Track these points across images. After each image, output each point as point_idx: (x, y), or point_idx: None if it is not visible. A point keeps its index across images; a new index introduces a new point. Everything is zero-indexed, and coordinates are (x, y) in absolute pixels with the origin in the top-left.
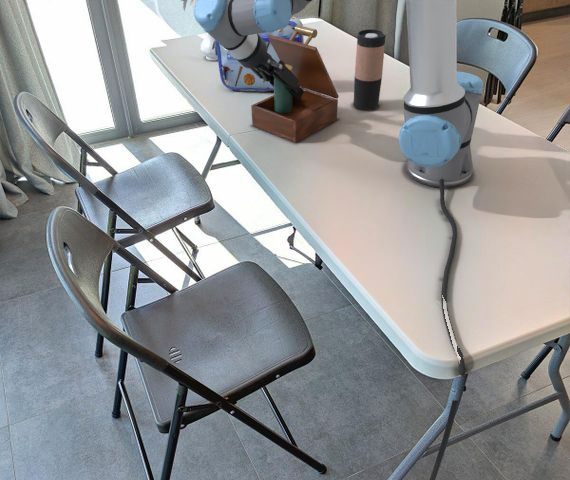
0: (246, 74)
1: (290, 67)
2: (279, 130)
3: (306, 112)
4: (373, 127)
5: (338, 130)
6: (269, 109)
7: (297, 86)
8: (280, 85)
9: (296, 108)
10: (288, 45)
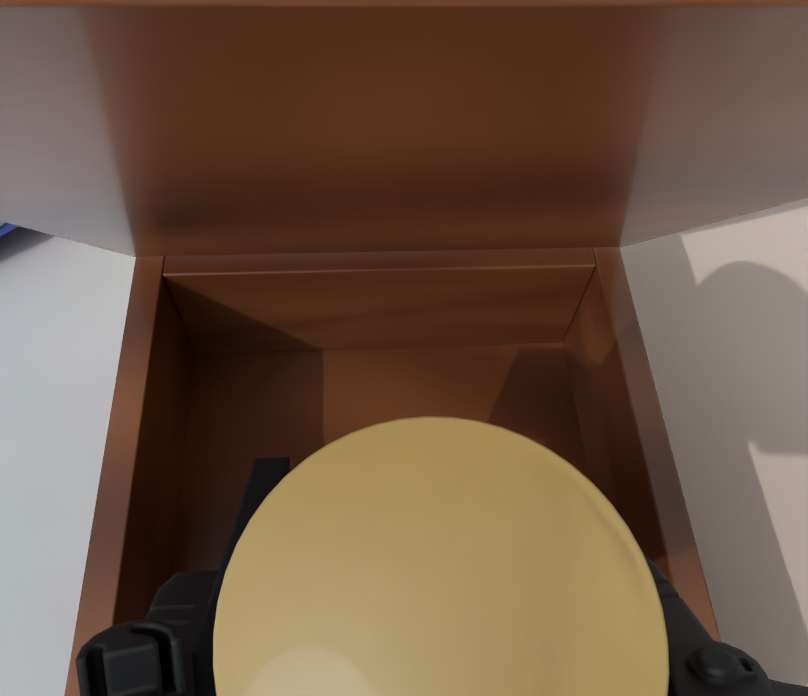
0: None
1: (559, 498)
2: None
3: (367, 403)
4: (805, 278)
5: (709, 444)
6: None
7: (681, 607)
8: None
9: (258, 401)
10: (309, 64)
